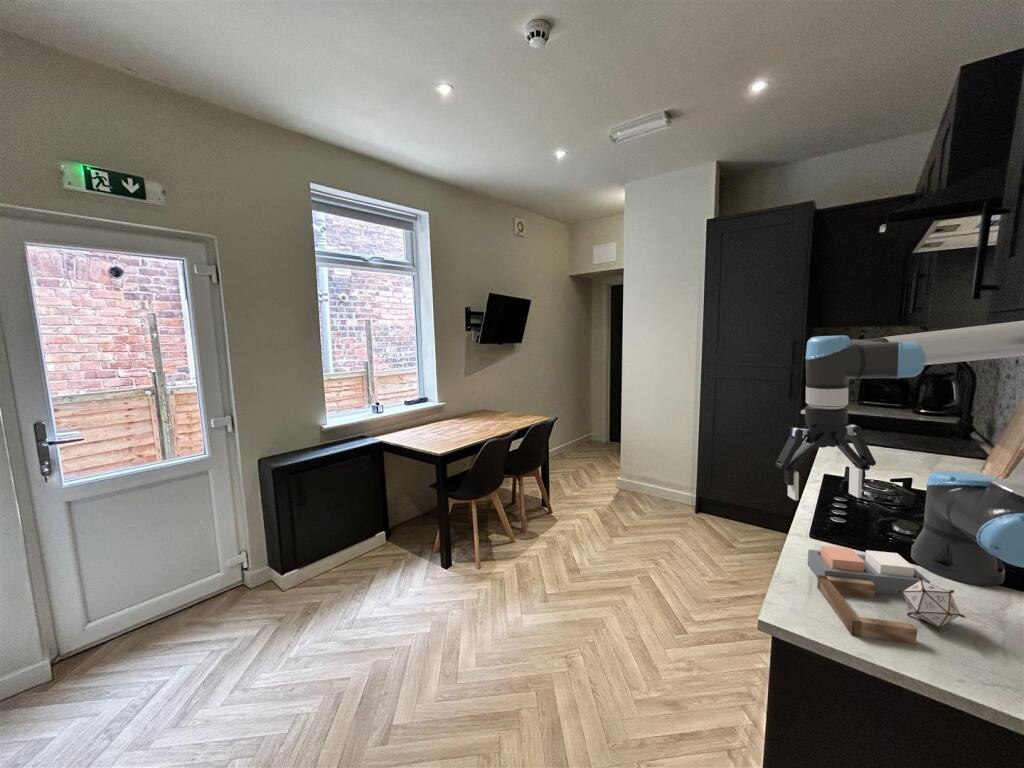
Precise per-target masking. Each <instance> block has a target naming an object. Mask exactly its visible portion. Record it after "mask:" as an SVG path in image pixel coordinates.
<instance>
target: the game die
mask: <svg viewBox="0 0 1024 768" xmlns="http://www.w3.org/2000/svg"><path fill="white" fill-rule="evenodd" d="M918 578H919V579H920V580H919V581H918V582H916V583H915V584H913V585H911V586H910V587H908V588H907V589H905V590H903V591H901V590H899V589H896V590H897V591H898V592H902V594H903V596H902V597H903V598H904V600H905V603H906V605H907V608H908V612H907V616H911V615H914V616H915V617H917V618H919V619H921V620H923V621H925V622H928V623H929V624H932V625H933V626H935V627H937V629H938V631H939V632H940V633H942V632H943V629H942V627H944V626H945V625H947V624H948V623H950V622H951V621H954V620H955V619H956V618H959V617H960V618H963V619H965V618H967V617H966V616H965V615H964V614H961V613H960V612H959V610H958V609H959V608H958V607H957V605H956V602H955V600H954V597H953V596H952V594H953V593H954V594H955V589H950V590H946V589H944V588H941V587H939V586H936V585H935V584H932V583H931V582H930V583H928V582H925V581H923V580H922V577H921V576H920V575H919V577H918Z"/></svg>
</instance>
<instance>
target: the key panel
mask: <svg viewBox="0 0 1024 768" xmlns="http://www.w3.org/2000/svg"><path fill="white" fill-rule="evenodd" d="M807 552H808V553H807V566H808V567H809V569H810V570H811V571H812V573H813V574H814V575H815V577H816V578H817V579H818V575H822V576H832V577H841V578H850V579H859V580H869V581H872V582H873V583H874V584H875V594H882V595H883V594H885V595H893V596H899V597H900V596H901V597H904V596H903V594H902V592H898V591H897V590H896V589H899V590H901V591H903V590H905V589H907V588H908V587H910V586H911V585H913V584H915V583H916V582H918V581H919V580H920V579H919V578H918V577H919V575H920V576H921V577H922V580H923V581H925V582H928V583H930V584H931V581H930V579H929V578H927V577H926V576H924V575H923V574H922V573H921V572H919V571H918V570H917V569H916V568H915V567H914V577H906V576H896V575H886V574H879V573H878V572H877V571H876V570H875V569H874V568H873V567H872V566H871V565H870V564H869V563H868V562H867V561H866V560H865V555H866V554H861V553H860V554H859V553H856V554H857V555H858V556H859V557H860V558H861V559H862V560H863V561H864V562H865V563H864V572H857V571H848V570H838V569H831V568H830V567H829V566H828V565H827V564H826V562H825V561H824V560H823V559H822V558H821V556H820V555H821V550H816V549H815V550H814V549H808V551H807Z"/></svg>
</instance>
